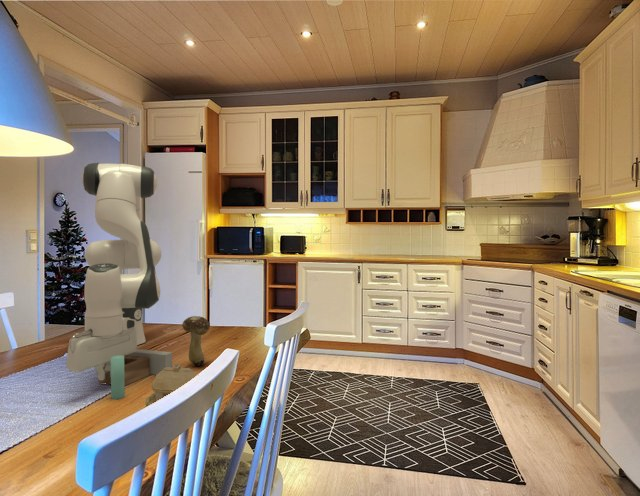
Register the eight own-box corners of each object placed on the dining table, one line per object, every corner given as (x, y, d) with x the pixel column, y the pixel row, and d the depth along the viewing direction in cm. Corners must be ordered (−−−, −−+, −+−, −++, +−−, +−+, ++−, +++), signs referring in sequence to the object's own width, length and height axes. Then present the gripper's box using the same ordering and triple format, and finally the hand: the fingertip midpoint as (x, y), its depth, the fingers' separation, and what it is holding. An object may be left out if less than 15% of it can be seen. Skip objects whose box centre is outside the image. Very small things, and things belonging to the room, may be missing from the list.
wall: (114, 370, 124) (114, 350, 124) (121, 367, 127) (121, 347, 126) (165, 375, 119) (165, 354, 118) (172, 372, 121) (172, 352, 121)
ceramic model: (215, 400, 101) (214, 359, 100) (193, 420, 90) (193, 374, 89) (161, 397, 103) (161, 356, 103) (134, 416, 92) (133, 370, 92)
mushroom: (188, 361, 133) (187, 314, 133) (215, 361, 133) (214, 314, 132) (177, 370, 124) (176, 320, 123) (206, 370, 123) (205, 320, 123)
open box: (99, 383, 112) (99, 365, 112) (126, 372, 122) (126, 355, 122) (123, 386, 110) (123, 367, 110) (149, 374, 119) (149, 357, 119)
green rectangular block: (108, 398, 102) (107, 358, 101) (117, 394, 104) (117, 354, 104) (118, 400, 101) (117, 359, 100) (127, 395, 104) (126, 355, 103)
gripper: (80, 335, 98) (81, 393, 98) (141, 319, 117) (141, 368, 118) (59, 333, 100) (60, 391, 100) (122, 318, 119) (123, 366, 120)
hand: (104, 378), depth 109 cm, fingers closed
